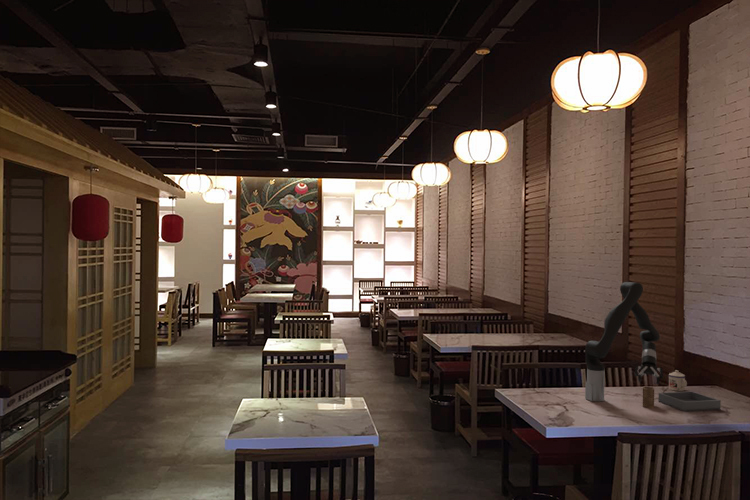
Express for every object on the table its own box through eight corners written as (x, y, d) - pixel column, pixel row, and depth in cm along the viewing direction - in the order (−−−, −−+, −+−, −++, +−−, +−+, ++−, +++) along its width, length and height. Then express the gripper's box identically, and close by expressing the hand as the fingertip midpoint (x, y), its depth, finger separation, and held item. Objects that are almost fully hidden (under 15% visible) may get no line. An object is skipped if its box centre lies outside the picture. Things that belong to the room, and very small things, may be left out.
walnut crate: (642, 406, 305) (642, 388, 305) (642, 404, 310) (642, 386, 310) (654, 408, 303) (654, 389, 303) (654, 405, 308) (654, 387, 308)
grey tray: (685, 411, 296) (685, 402, 296) (658, 401, 316) (658, 392, 316) (720, 409, 301) (720, 400, 301) (691, 400, 321) (692, 391, 321)
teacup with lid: (664, 388, 349) (665, 369, 349) (676, 387, 351) (677, 368, 351) (680, 392, 337) (680, 373, 337) (692, 392, 340) (692, 372, 340)
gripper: (635, 353, 324) (634, 377, 314) (663, 356, 318) (663, 380, 308) (635, 361, 329) (634, 385, 319) (662, 363, 323) (663, 388, 312)
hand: (648, 382), depth 313 cm, fingers open, 8 cm apart
